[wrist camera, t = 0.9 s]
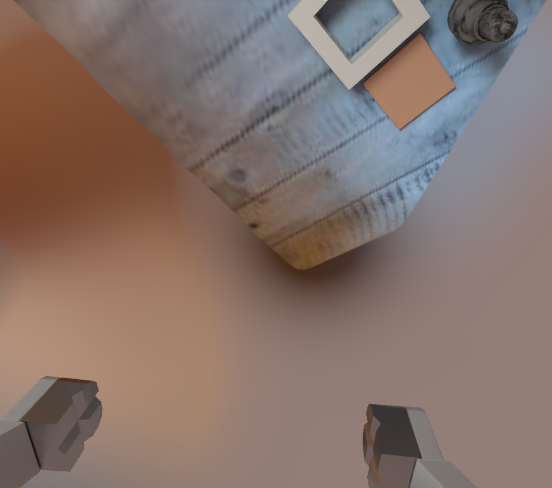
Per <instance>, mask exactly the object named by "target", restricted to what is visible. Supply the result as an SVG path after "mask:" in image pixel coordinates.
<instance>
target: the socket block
mask: <svg viewBox="0 0 552 488" xmlns="http://www.w3.org/2000/svg"><path fill="white" fill-rule="evenodd" d="M327 1H328V0H300V1H299V2H298V3H297V4H296V6H295V7H294V8H293V9H292V10H291V11H290V13H289V15H288V17H289V18H290V19H291V21H292V22H293V23H294V24H295V25H296V27H297V28H298V29H299V30H300V31H301V33H302V34H303V35H304V36H305V38H306V39H307V40H308V41H309V42H310V44H311V45H312V46H313V47H314V48H315V50H316V51H317V52H318V53H319V54H320V56H321V57H322V58H323V59H324V61H325V62H326V63H327V64H328V65H329V67H330V68H331V69H332V70H333V71H334V73H335V74H336V75H337V76H338V77H339V79H340V80H341V81H342V82H343V84H344V85H345V86H346V87H347V88H348V90H350V89H351V88H352V87H353V86H354V85H355V84H357V83H358V82H359V81H360V80H361V79H362V78H363V77H364V76H365V75H367V74H368V73H369V72H370V71H371V70H372V69H373V68H374V67H375V66H377V65H378V64H379V63H380V62H381V61H382V60H383V59H384V58H385V57H387V56H388V55H389V54H390V53H391V52H392V51H393V50H394V49H395V48H397V47H398V46H399V45H400V44H401V43H402V42H403V41H404V40H405V39H407V38H408V37H409V36H410V35H411V34H412V33H413V32H414V31H415V30H417V29H418V28H419V27H420V26H421V25H422V24H423V23H424V22H425V21H427V20H428V19H429V18H430V16H429V14H428V13H427V11H426V9H425V8H424V6H423V5H422V3H421V2H420V0H390V1H391V2H392V4H393V5H394V7H395V8H396V10H397V11H398V14H397V15H396V16H395V17H394V18H393V19H392V20H391V21H390V22H389V23H388V24H387V25H385V26H384V27H383V28H382V29H381V30H380V31H379V32H378V33H377V34H376V35H375V36H374V37H373V38H372V39H371V40H370V41H369V42H368V43H367V44H366V45H364V46H363V47H362V48H361V49H360V50H359V51H358V52H357V53H356V54H355V55H354V56H353V57H352V58H351V59H350V58H349V57H348V55H347V54H346V53H345V51H344V50H343V49H342V48H341V46H340V45H339V44H338V43H337V41H336V40H335V39H334V38H333V36H332V35H331V34H330V32H329V31H328V30H327V29H326V27H325V26H324V25H323V24H322V22H321V21H320V20H319V18H318V17H317V16H316V15H315V14H316V13H317V12H318V10H319V9H320V8H321V7H322V6H323V5H324V4H325V3H326V2H327Z"/></svg>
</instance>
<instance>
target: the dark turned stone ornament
mask: <svg viewBox="0 0 552 488" xmlns="http://www.w3.org/2000/svg"><path fill="white" fill-rule="evenodd" d="M447 20H448V26H449V29H450V31H451V32H452V33H453V34H454V35H455V37H456V38H457V39H458V40H459V42H461V43H463V44H465V45H470V46H473V45H479V44H482V43H484V42H486V41H493V42H502V41H505V40H507V39H508V38H509V37H510V36H512V34H513V33H514V32H515V30H516V28H517V24H518V19H517V16H516V15H515V13H514V12H512V11H510V10H509V8H508V1H507V0H455V1H454V2H453V4H452V6H451V8H450V10H449V13H448V19H447Z"/></svg>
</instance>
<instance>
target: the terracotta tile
mask: <svg viewBox="0 0 552 488" xmlns="http://www.w3.org/2000/svg"><path fill="white" fill-rule="evenodd" d="M363 85H364V86H365V88H366V89H367V90H368V91H369V93H370V94H371V95H372V96H373V98H374V99H375V100H376V101H377V103H378V104H379V105H380V106H381V108H382V109H383V110H384V111H385V113H386V114H387V115H388V116H389V118H390V119H391V120H392V121H393V123H394V124H395V125H396V126H397V128H398V129H401V128H402V127H403V126H405V125H406V124H407V123H409V122H410V121H411V120H413V119H414V118H415V117H416V116H418V115H419V114H420V113H422V112H423V111H424V110H426V109H427V108H428V107H430V106H431V105H432V104H434V103H435V102H436V101H437V100H439V99H440V98H441V97H443V96H444V95H445V94H447V93H448V92H449V91H451V90H452V89H453V88H455V87H456V86H455V84H454V83H453V81H452V80H451V78H450V77H449V75H448V74H447V72H446V71H445V69H444V68H443V66H442V65H441V63H440V62H439V60H438V59H437V57H436V56H435V54H434V53H433V51H432V50H431V48H430V47H429V45H428V44H427V42H426V41H425V39H424V38H423V36H422V35H421V33H418V34H417V35H416V36H415V37H414V38H413V39H412V40H411V41H409V42H408V43H407V44H406V45H405V46H404V47H403V48H402V49H400V50H399V51H398V52H397V53H396V54H395V55H394V56H393V57H391V58H390V59H389V60H388V61H387V62H386V63H385V64H384V65H382V66H381V67H380V68H379V69H378V70H377V71H376V72H375V73H373V74H372V75H371V76H370V77H369V78H368V79H367V80H366V81H364V82H363Z"/></svg>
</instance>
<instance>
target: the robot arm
mask: <svg viewBox="0 0 552 488" xmlns="http://www.w3.org/2000/svg"><path fill="white" fill-rule="evenodd" d="M98 391H99V390H98V387H97V383H96V382H94V381H89V380H80V379H71V378H59V377H50V376H45V377H43V378H41V379H40V380H39V381H38V382H37V383H36V384H35V385H34V386H33V387H32V388H31V389H30V390H29V391H28V392H27V393H26V394H25V395H24V397H22V398H21V400H20V401H19V402H18V403H17V404H16V405H15V406H14V407H13V408H12V409H11V410H10V411H9V412H8V413H7V414H6V415H5V416H4V417H3V418H2V419H1V420H0V488H20V487H21V486H22V485H23V484H25V483H26V482H27V481H29V480H30V479H31V478H32V477H33V476H35V475H36V474H37V473H39V472H40V470H54V471H69V472H70V470H71V469H72V467H73V466H74V464H75V463H76V461H77V460H78V458H79V457H80V455H81V454H82V452H83V450H84V444H83V442H84V441H86V440H87V439H89V438H90V437H92V436H93V435H94V433H95V431H96V430H97V428H98V426H99V423H100V420H101V417H102V404H101V401H100V400H99V399H98V398H97V397H96V396H95V395H96V394H97V392H98ZM366 416H367V421H368V422H367V423H366V424H365V425H364V431H363V451H364V459H365V462H366V463H367V464H368V466H369V472H368V477H367V478H368V484H369V488H477V487H476V486H475V485H474V484H473V483H472V482H471V481H470V480H469V479H468V478H467V477H466V476H465V475H463V474H462V473H461V472H460V471H459V470H458V469H457V468H456V467H455V466H454V465H453V464H452V463H451V462H448V461H444V459H443V456H442V453H441V451H440V448H439V446H438V443H437V441H436V438H435V435H434V433H433V430H432V428H431V425H430V423H429V420H428V418H427V415H426V412H425V411H424V410H423V408H417V407H403V406H390V405H389V406H388V405H377V404H369V405H368V407H367V412H366Z"/></svg>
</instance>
